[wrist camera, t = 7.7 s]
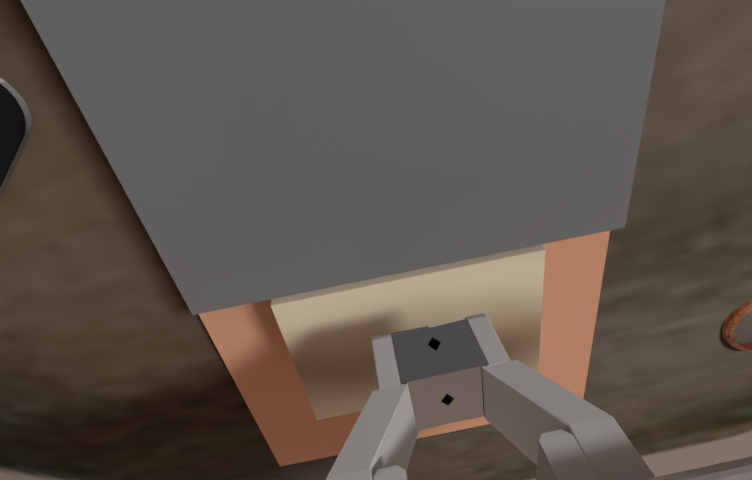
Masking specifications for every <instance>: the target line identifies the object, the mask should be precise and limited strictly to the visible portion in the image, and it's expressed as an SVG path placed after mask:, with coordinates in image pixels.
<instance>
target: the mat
mask: <svg viewBox="0 0 752 480" xmlns="http://www.w3.org/2000/svg"><path fill="white" fill-rule="evenodd" d="M609 234H610V231H605V232H600V233H595V234H590V235H585V236H581V237H576V238H571V239H566V240H561V241H556V242H551V243H546V244H541V245H542V246H543V248H544V249H545V267H544V284H543V300H542V317H541V334H540V351H539V367H538V372H539V373H540V374H542V375H544V376H545V377H547V378H549V379H550V380H552V381H554V382H555V383H557V384H559V385H560V386H562V387H564V388H565V389H567V390H569V391H570V392H572V393H574V394H575V395H577V396H579V397H580V398H582V399H583V397H584V391H585V385H586V378H587V372H588V366H589V360H590V353H591V347H592V341H593V334H594V328H595V322H596V316H597V309H598V303H599V297H600V291H601V284H602V278H603V272H604V265H605V259H606V253H607V247H608V240H609ZM271 302H272V299H270V300H265V301H260V302H255V303H250V304H245V305H240V306H235V307H230V308H225V309H220V310H215V311H210V312H205V313H200V314H199V316H200V318H201V320H202V322H203V324H204V325H205V327H206V329H207V331H208V333H209V335H210V337H211V339H212V340H213V342H214V344H215V346H216V348H217V350H218V352H219V354H220V355H221V357H222V359H223V361H224V363H225V365H226V367H227V368H228V370H229V372H230V374H231V376H232V378H233V380H234V382H235V383H236V385H237V387H238V389H239V391H240V393H241V395H242V396H243V398H244V400H245V402H246V404H247V406H248V408H249V410H250V411H251V413H252V415H253V417H254V419H255V421H256V423H257V424H258V426H259V428H260V430H261V432H262V434H263V436H264V438H265V439H266V441H267V443H268V445H269V447H270V449H271V451H272V453H273V454H274V456H275V458H276V460H277V462H278V464H279V466H280V467H281V466H285V465H290V464H295V463H300V462H305V461H310V460H315V459H320V458H325V457H330V456H334V455H339V453H340V451H341V450H342V448H343V446H344V444H345V442H346V440H347V438H348V436H349V434H350V432H351V431H352V429H353V427H354V425H355V423H356V421H357V419H358V417H359V415H360V413H361V411H360V412H355V413H350V414H345V415H340V416H336V417H331V418H326V419H321V420H317V419H316V416H315V414H314V411H313V409H312V406H311V404H310V402H309V399H308V397H307V394H306V392H305V389H304V387H303V384H302V382H301V379H300V377H299V375H298V372H297V370H296V367H295V365H294V362H293V360H292V357H291V355H290V353H289V350H288V348H287V345H286V343H285V340H284V338H283V335H282V333H281V330H280V328H279V326H278V323H277V321H276V318H275V316H274V313H273V311H272V308H271ZM486 424H491V423H489V422H488V421H487V420H486V419H485V417H479V418H474V419H469V420H463V421H458V422H453V423H448V424H444V425H440V426H436V427H432V428H428V429H424V430H420V431H418V435H417V438H416V439H418V438H423V437H427V436H432V435H437V434H442V433H447V432H452V431H457V430H462V429H467V428H471V427H476V426H481V425H486Z"/></svg>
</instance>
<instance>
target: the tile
mask: <svg viewBox="0 0 752 480" xmlns="http://www.w3.org/2000/svg"><path fill="white" fill-rule="evenodd" d="M544 267H545V249H544V248H543V246H542V245H536V246H531V247H526V248H521V249H516V250H511V251H506V252H502V253H497V254H492V255H487V256H482V257H477V258H472V259H467V260H462V261H457V262H452V263H447V264H442V265H437V266H432V267H428V268H423V269H418V270H413V271H408V272H403V273H398V274H393V275H388V276H383V277H378V278H373V279H368V280H363V281H358V282H353V283H349V284H344V285H339V286H334V287H329V288H324V289H319V290H314V291H309V292H304V293H299V294H294V295H289V296H284V297H279V298H274V299H272V302H271V308H272V311H273V313H274V316H275V318H276V321H277V323H278V326H279V328H280V330H281V333H282V335H283V338H284V340H285V343H286V345H287V348H288V350H289V353H290V355H291V357H292V360H293V362H294V365H295V367H296V370H297V372H298V375H299V377H300V379H301V382H302V384H303V387H304V389H305V392H306V394H307V397H308V399H309V402H310V404H311V406H312V409H313V411H314V414H315V416H316V419H317V420H321V419H326V418H331V417H336V416H340V415H345V414H350V413H355V412H360V411H362V410H363V408H364V406H365V404H366V402H367V400H368V398H369V396H370V394H371V392H372V391H374V390H378V386H377V379H376V371H375V364H374V357H373V350H372V343H371V341H372V337H375V336H380V335H385V334H391V333H394V332H399V331H404V330H409V329H415V328H420V327H425V326H429V325H433V324H437V323H442V322H446V321H451V320H455V319H459V318H465V317H468V316H473V315H477V314H481V313H484V314H486V315H487V317H488V319H489V321H490V323H491V324H492V326H493V328H494V330H495V332H496V334H497V336H498V337H499V339H500V341H501V343H502V345H503V347H504V349H505V350H506V352H507V354H508V356H509V358H510V360H511V361H512V360H519V361H520V362H522V363H524V364H525V365H527V366H529V367H530V368H532V369H534V370H535V371H537V372H538V367H539V351H540V334H541V317H542V300H543V284H544ZM391 338H392V336H391ZM392 342H393V341H392Z"/></svg>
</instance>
